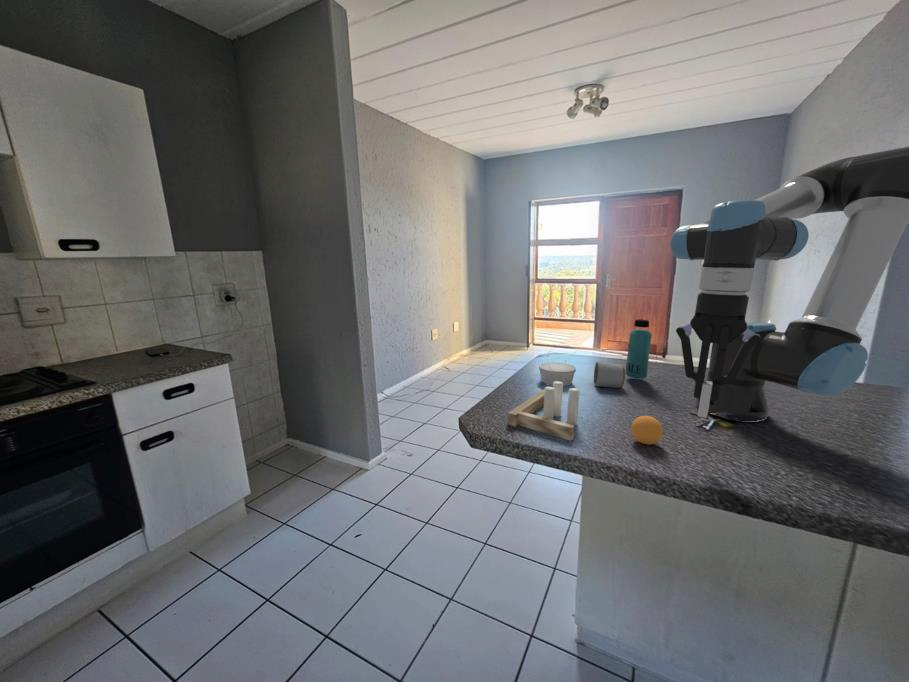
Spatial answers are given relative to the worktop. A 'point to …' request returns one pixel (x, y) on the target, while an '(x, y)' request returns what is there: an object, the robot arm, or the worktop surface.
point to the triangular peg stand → (539, 419)
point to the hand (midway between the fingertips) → (702, 414)
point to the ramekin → (557, 373)
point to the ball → (646, 430)
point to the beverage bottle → (638, 351)
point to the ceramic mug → (609, 375)
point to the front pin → (573, 406)
